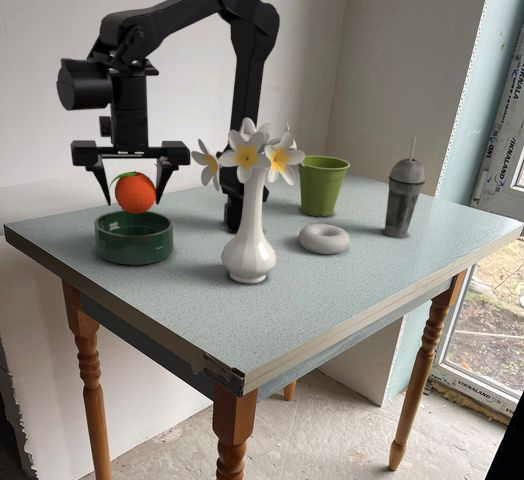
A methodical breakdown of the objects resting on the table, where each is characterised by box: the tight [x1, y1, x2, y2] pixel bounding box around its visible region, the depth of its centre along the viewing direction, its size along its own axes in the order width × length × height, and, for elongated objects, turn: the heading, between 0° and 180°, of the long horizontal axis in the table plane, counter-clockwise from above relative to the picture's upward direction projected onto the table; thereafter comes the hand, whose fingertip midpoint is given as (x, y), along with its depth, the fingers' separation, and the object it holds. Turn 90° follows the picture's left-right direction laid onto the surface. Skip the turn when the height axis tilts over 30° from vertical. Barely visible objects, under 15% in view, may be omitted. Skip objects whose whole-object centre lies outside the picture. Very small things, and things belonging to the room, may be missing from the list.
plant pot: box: [297, 155, 351, 217], centre depth 125 cm, size 12×12×11 cm
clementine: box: [108, 170, 156, 214], centre depth 95 cm, size 8×7×7 cm
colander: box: [93, 209, 174, 266], centre depth 99 cm, size 13×13×6 cm
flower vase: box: [190, 118, 306, 285], centre depth 88 cm, size 13×18×25 cm
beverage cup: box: [384, 136, 426, 238], centre depth 114 cm, size 7×7×20 cm
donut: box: [298, 223, 351, 255], centre depth 109 cm, size 10×4×10 cm
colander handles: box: [120, 207, 149, 245], centre depth 98 cm, size 3×17×1 cm, turn 18°
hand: (133, 204), depth 96 cm, fingers closed on clementine, 8 cm apart
